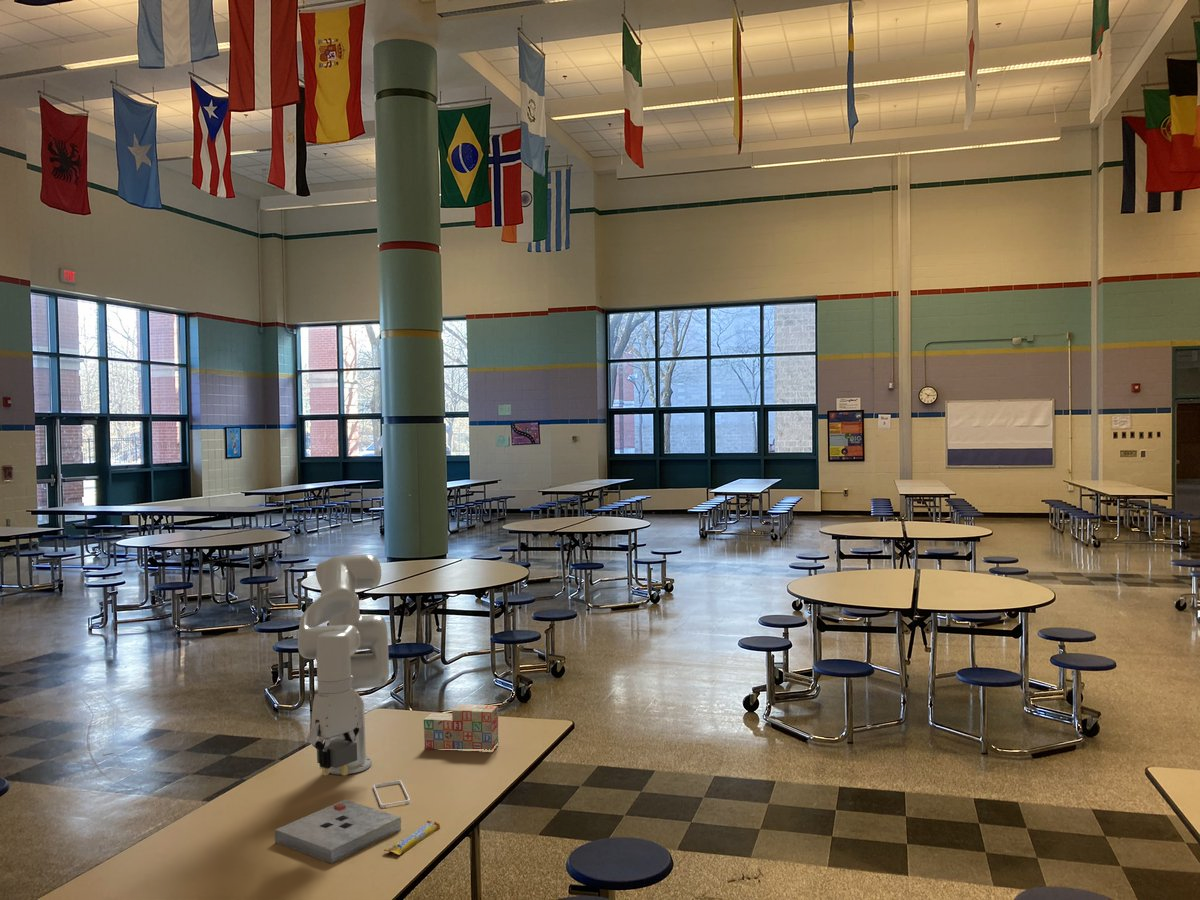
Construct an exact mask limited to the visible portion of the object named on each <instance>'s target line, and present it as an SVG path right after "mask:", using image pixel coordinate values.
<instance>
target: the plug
mask: <svg viewBox="0 0 1200 900" xmlns="http://www.w3.org/2000/svg"><path fill="white" fill-rule="evenodd" d="M323 745H324V742H323ZM328 751H330V767H334V768H338V769H341V774H342V775H341V776H347V775H349V774H348V763H351V762H354V761H356V760H357V743H355V742H351V741H347V740H343V739H339V738H337V739H334V740H330V743H329V747H328ZM316 758H317V759H316V761H317V762H316V763H317V764H319V750H317V749H316ZM321 769H322V775H323V776H327V775H330V773H329V768H328V769H327V768H323V767H321Z"/></svg>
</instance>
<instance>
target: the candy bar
mask: <svg viewBox="0 0 1200 900" xmlns="http://www.w3.org/2000/svg"><path fill="white" fill-rule="evenodd" d="M440 824H441V823H438V822H437V821H434V822H433V823H432V821H430V820H426V823H425V824H424V825H422V826H420V828H418V829H416V830H415V831H414V832H412V833H410V834H409V835H407V836H406V837H404V838H402V839H400V840H399V841H398V842H396V843H395V844H393V845H392V846H390V847H389V848H388V849H383V851H384V852H390V853H393V854H395V855H401V854H404V853H405V852H407V851H409V850H410V849H412V848H413V847H414V846H416V845H417V844H418V843H420V842H421V841H423V840H424V839H426V838H428V837H429V836H430V835H432V834H433V833H434V832H436V831H437V830H438V829H440V828H441V825H440Z"/></svg>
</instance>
